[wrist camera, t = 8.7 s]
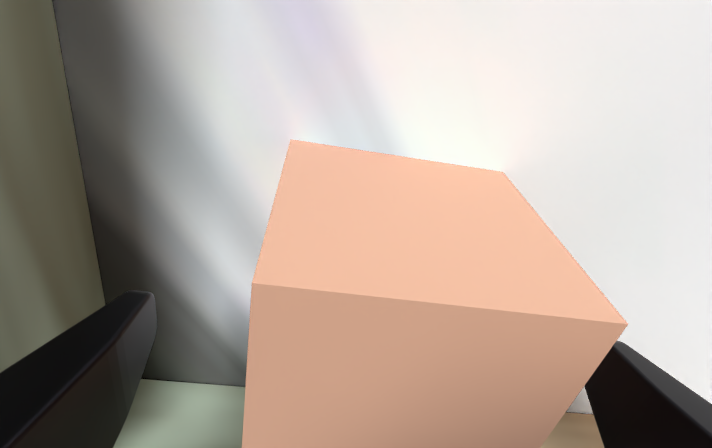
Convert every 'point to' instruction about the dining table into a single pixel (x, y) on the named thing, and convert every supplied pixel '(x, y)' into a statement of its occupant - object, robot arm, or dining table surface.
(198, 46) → the dining table surface
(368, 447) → the cube
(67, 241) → the arena
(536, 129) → the dining table surface
